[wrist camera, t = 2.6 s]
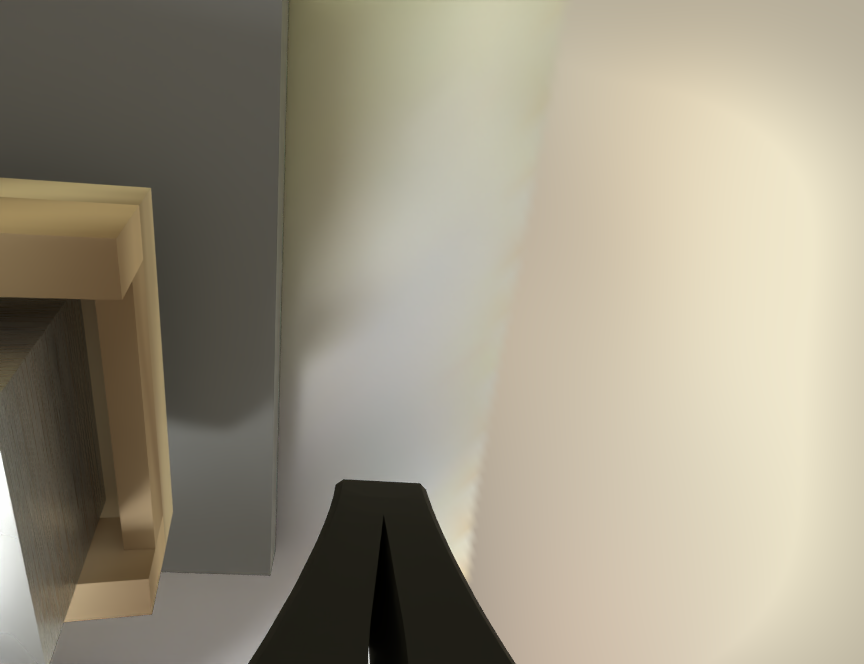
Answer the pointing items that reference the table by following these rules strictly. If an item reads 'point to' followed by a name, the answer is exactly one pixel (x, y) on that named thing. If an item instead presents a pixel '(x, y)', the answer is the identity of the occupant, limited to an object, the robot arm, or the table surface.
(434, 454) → the table surface
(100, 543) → the balance beam
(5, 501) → the steel block
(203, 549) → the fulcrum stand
